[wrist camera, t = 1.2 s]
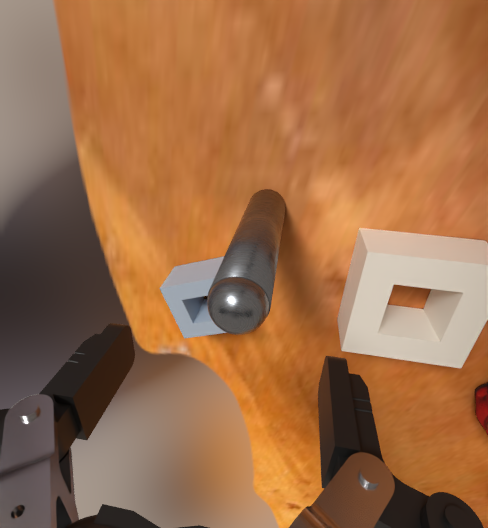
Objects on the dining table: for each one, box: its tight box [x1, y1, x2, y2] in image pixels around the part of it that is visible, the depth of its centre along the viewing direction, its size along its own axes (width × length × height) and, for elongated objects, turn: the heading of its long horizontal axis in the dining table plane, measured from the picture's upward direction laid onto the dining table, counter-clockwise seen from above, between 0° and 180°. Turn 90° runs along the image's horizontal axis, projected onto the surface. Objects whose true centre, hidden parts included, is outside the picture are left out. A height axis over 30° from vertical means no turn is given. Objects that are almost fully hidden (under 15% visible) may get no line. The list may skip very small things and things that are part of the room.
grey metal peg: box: [207, 189, 286, 335], centre depth 21 cm, size 3×3×16 cm
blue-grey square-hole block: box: [160, 257, 227, 338], centre depth 32 cm, size 6×6×4 cm
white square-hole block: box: [337, 228, 488, 368], centre depth 28 cm, size 10×10×4 cm
